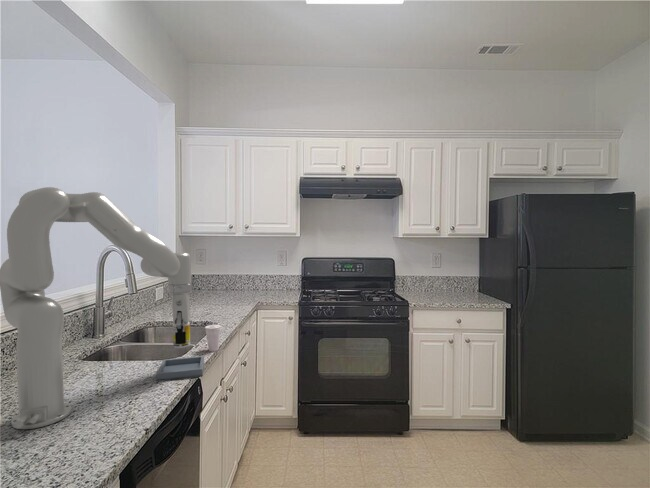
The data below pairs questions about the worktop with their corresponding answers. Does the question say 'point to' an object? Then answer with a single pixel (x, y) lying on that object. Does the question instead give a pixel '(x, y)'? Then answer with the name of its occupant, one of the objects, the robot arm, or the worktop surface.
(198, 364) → the slate tray
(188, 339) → the supplement bottle
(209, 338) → the smoothie
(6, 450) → the worktop surface
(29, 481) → the worktop surface
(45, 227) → the robot arm
